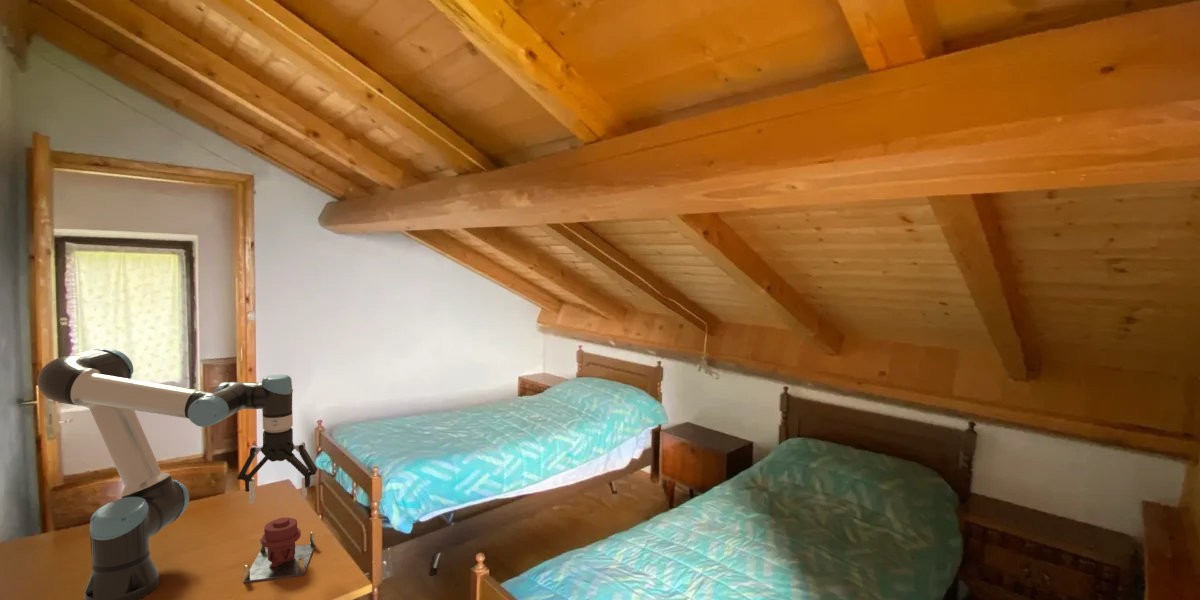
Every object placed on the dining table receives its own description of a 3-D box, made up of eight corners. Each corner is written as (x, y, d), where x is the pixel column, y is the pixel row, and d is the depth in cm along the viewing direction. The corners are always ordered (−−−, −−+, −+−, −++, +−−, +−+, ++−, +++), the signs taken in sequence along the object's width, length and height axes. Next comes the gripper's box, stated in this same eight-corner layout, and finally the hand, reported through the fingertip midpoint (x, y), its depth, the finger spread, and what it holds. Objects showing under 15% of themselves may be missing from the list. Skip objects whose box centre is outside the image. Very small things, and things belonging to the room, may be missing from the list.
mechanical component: (308, 554, 169) (283, 572, 159) (279, 550, 171) (253, 567, 161) (308, 514, 168) (282, 530, 158) (279, 511, 170) (252, 526, 160)
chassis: (243, 582, 155) (242, 567, 155) (260, 551, 171) (260, 536, 171) (303, 575, 159) (303, 560, 159) (315, 544, 176) (315, 531, 175)
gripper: (223, 435, 156) (225, 509, 158) (322, 430, 163) (322, 501, 165) (233, 427, 163) (234, 497, 165) (327, 422, 170) (327, 490, 172)
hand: (278, 499), depth 165 cm, fingers open, 13 cm apart
